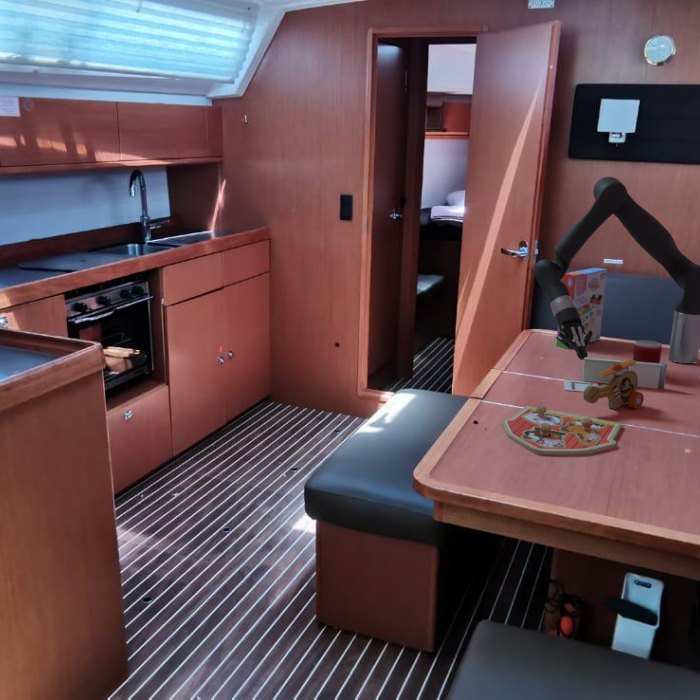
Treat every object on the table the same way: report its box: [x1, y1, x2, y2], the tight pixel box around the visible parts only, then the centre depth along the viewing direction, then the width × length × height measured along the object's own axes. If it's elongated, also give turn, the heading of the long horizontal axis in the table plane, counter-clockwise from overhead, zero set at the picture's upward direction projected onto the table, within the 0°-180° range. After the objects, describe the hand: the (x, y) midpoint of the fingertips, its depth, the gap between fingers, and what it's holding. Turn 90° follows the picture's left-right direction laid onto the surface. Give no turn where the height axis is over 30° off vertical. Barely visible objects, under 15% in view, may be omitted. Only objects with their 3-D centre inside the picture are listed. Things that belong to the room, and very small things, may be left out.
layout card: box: [563, 379, 599, 393], centre depth 224 cm, size 10×10×1 cm
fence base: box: [621, 359, 668, 390], centre depth 225 cm, size 2×13×8 cm, turn 76°
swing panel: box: [582, 357, 622, 383], centre depth 227 cm, size 11×2×7 cm, turn 76°
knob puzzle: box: [501, 404, 623, 457], centre depth 187 cm, size 29×30×4 cm
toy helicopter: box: [583, 359, 644, 410], centre depth 204 cm, size 8×21×14 cm, turn 122°
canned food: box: [632, 339, 663, 364], centre depth 235 cm, size 8×8×11 cm
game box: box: [555, 267, 608, 350], centre depth 270 cm, size 21×6×27 cm, turn 130°
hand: (584, 358), depth 234 cm, fingers closed
